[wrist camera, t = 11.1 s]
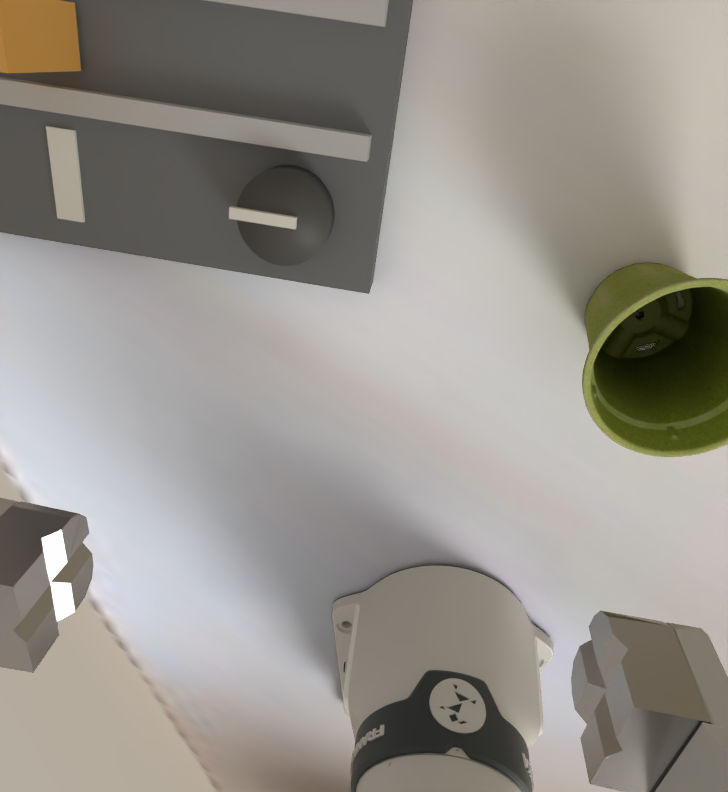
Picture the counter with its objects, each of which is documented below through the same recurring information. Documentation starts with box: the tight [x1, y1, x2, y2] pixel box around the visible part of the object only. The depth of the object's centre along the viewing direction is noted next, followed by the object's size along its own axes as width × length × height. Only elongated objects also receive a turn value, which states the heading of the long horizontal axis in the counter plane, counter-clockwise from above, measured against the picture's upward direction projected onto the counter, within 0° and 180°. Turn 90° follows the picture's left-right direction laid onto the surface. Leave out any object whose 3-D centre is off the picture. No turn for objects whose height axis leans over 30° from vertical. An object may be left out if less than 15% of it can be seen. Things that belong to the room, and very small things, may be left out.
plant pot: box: [582, 263, 728, 457], centre depth 32 cm, size 9×9×9 cm
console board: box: [0, 0, 413, 294], centre depth 30 cm, size 22×28×4 cm
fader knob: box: [0, 0, 81, 73], centre depth 28 cm, size 3×3×6 cm
